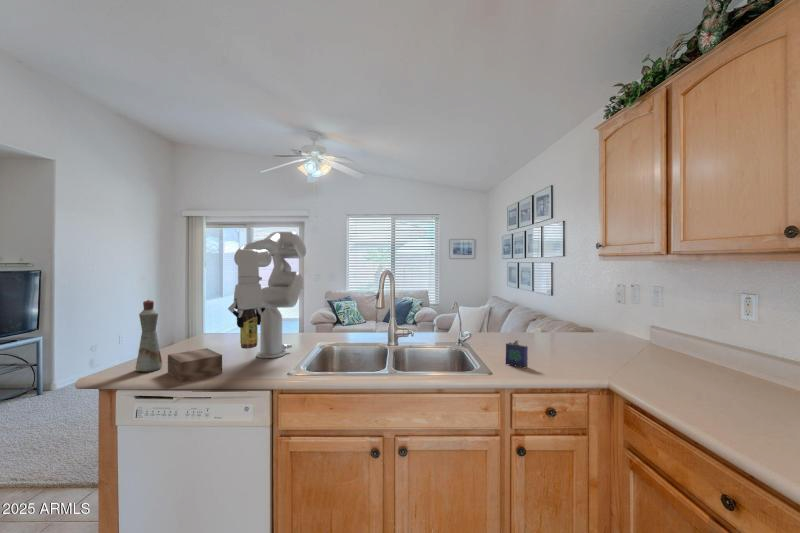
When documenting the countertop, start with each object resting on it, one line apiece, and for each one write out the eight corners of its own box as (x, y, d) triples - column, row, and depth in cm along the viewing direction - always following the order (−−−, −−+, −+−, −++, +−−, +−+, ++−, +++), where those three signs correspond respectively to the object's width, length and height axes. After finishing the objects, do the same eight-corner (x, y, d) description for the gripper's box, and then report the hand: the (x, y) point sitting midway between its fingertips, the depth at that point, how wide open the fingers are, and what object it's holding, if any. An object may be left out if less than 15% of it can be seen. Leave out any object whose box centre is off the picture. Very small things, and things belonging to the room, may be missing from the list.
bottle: (128, 372, 135) (128, 300, 135) (148, 365, 144) (148, 298, 144) (148, 373, 134) (148, 301, 134) (167, 366, 143) (167, 298, 143)
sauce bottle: (251, 349, 134) (249, 298, 134) (237, 348, 136) (235, 298, 135) (261, 345, 141) (260, 296, 140) (247, 344, 142) (246, 296, 141)
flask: (528, 367, 144) (528, 341, 144) (525, 368, 142) (525, 342, 142) (506, 363, 150) (506, 338, 150) (504, 364, 148) (504, 339, 148)
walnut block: (206, 364, 146) (206, 348, 146) (222, 373, 135) (222, 355, 135) (167, 372, 135) (167, 354, 135) (181, 382, 125) (181, 362, 124)
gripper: (264, 279, 146) (265, 321, 147) (221, 281, 134) (222, 327, 134) (273, 280, 141) (274, 324, 142) (229, 282, 128) (230, 330, 129)
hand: (249, 325), depth 138 cm, fingers closed on sauce bottle, 6 cm apart
